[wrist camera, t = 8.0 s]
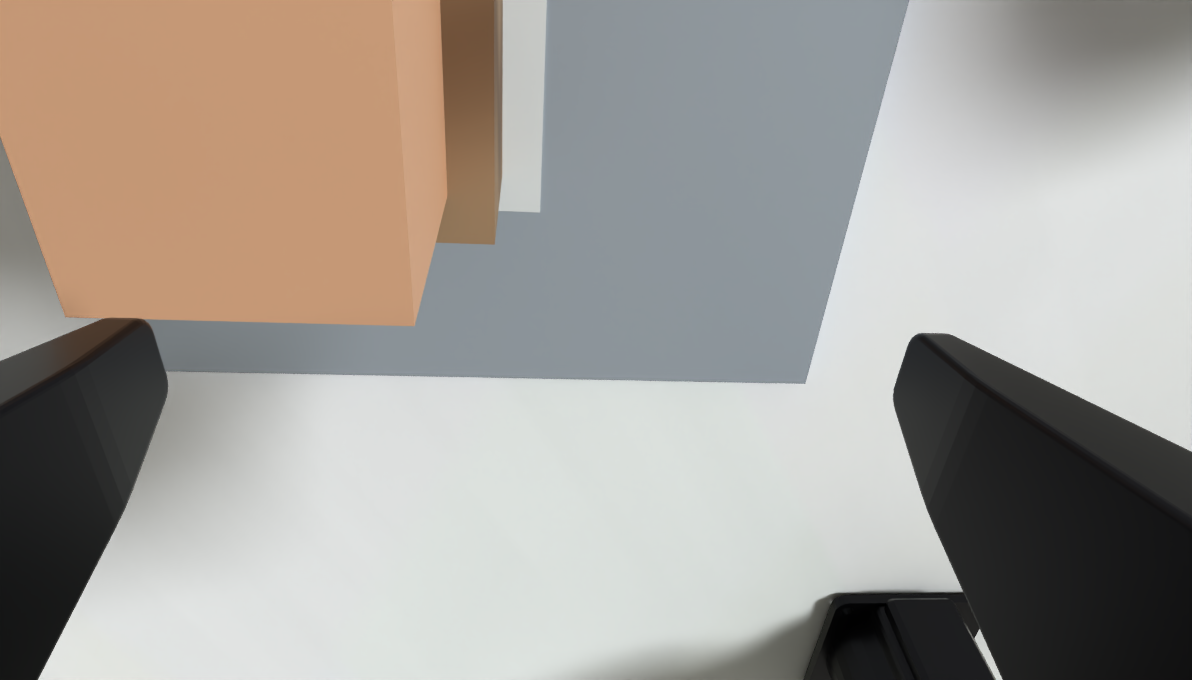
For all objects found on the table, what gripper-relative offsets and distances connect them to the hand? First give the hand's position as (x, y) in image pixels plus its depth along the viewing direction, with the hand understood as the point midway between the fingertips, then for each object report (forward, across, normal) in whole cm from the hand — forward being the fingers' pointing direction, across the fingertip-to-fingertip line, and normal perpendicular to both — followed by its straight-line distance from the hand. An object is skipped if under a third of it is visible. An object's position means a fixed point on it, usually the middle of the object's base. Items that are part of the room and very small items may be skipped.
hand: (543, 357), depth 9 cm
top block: (+7, +4, -2) cm, 9 cm away
